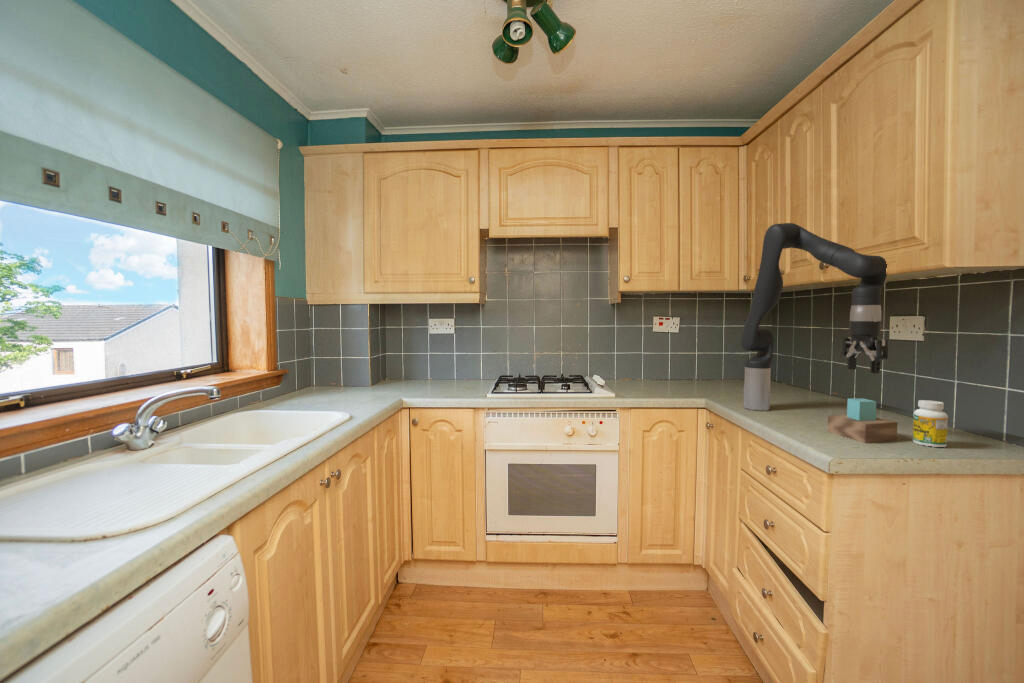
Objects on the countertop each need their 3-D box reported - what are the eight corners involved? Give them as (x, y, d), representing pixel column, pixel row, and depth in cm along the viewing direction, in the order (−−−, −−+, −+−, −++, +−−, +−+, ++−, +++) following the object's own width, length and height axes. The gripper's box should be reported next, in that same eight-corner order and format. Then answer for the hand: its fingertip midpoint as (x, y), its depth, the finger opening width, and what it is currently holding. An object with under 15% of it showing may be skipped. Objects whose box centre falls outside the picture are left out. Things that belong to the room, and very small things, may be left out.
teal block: (846, 416, 136) (847, 398, 135) (862, 416, 135) (863, 398, 135) (859, 420, 131) (859, 401, 130) (875, 420, 130) (876, 401, 130)
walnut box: (827, 433, 138) (828, 415, 137) (857, 431, 140) (857, 413, 140) (864, 444, 126) (865, 424, 126) (896, 441, 128) (897, 422, 128)
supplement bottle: (954, 448, 121) (956, 404, 120) (928, 448, 121) (931, 404, 120) (929, 440, 128) (931, 399, 127) (905, 441, 128) (907, 399, 127)
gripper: (835, 319, 138) (833, 368, 139) (872, 320, 124) (870, 374, 125) (858, 319, 138) (856, 368, 139) (898, 320, 124) (895, 374, 125)
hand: (862, 371), depth 132 cm, fingers open, 8 cm apart
